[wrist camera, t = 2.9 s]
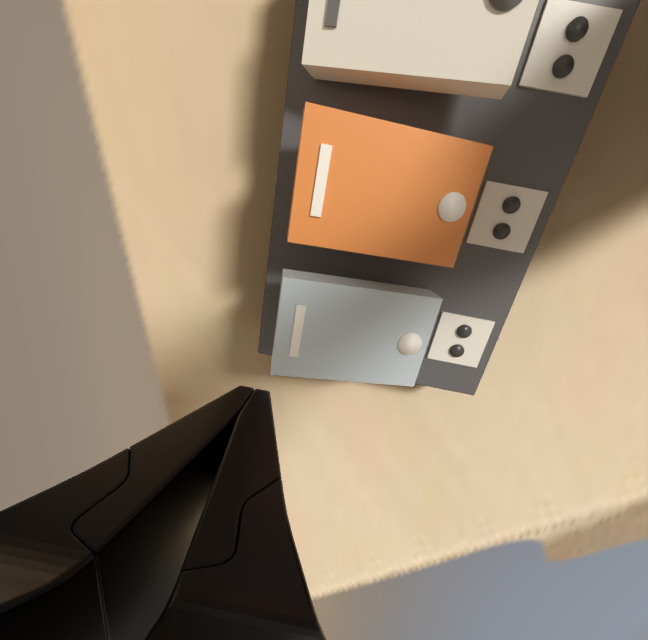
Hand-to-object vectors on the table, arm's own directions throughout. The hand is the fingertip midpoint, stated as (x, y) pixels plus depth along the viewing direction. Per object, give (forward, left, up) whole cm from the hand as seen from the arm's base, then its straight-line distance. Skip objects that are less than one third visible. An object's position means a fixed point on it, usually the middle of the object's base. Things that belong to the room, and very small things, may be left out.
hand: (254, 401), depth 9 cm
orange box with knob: (-3, -6, -7) cm, 10 cm away
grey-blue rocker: (-3, 0, -7) cm, 8 cm away
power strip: (-4, -6, -11) cm, 13 cm away
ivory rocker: (-3, -12, -7) cm, 14 cm away
